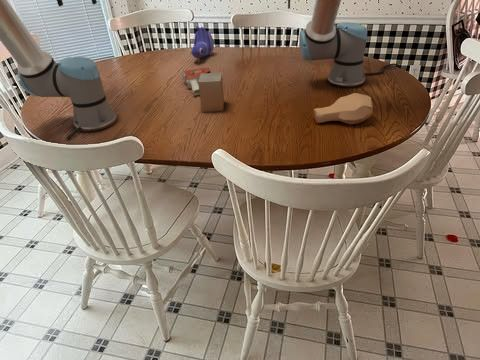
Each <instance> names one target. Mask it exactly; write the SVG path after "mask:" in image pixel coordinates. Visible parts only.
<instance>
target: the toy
mask: <svg viewBox="0 0 480 360" xmlns="http://www.w3.org/2000/svg"><path fill="white" fill-rule="evenodd" d="M194 30H197V31H196V32H195V35H194V39H193V45H192V48H191V49H190V54H191V55H192V56H193V57H194V58H195V59H196V60H197V62H198V63H199V62H200V58H203V57H206V56H208V55H210V54H211V52H212V51H214V49H215V41H214V38H213V36H212V34H211V32H210V31H209V30H206V29H205V28H204V27H203V26H201V27H199V26H196V27H194Z"/></svg>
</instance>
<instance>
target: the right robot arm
mask: <svg viewBox="0 0 480 360" xmlns="http://www.w3.org/2000/svg"><path fill="white" fill-rule="evenodd" d="M341 2H342V0H315V2H314V7H313V12H312V17H311V20H310V21H308V23H306V25H305V29H302V30H300V31H299V34H298V35H299V38H298V39H299V49H300V55H301V58H302V59H303V60H304V61H321V60H332V59H333V64H332V67H331V69H330V71H329V74H328V76H327V83H329V84H330V85H331V86H334V87H337V88H345V89H352V88H359V87H361V86H363V85H364V84H365V81H366V76H372V75H373V76H375V75H380V74H383V73H384V72H385V71H384V70H385V68H388V67H391V66H395V67H397V68H400V67H401V66H400V65H399V64H398V63H388V64H386V65H383V66H382V67H381V70H380V71H376V72H365V70H364V58H365V52H366V45H367V40H368V29H367V27H366V26H365V25H363V24H360V23H356V22H347V21H342V22H338V24H337V27H336V25H335V23H336V19H337V16H338V13H339V9H340V5H341ZM287 9H288V10H289V9H291V0H287Z"/></svg>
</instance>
